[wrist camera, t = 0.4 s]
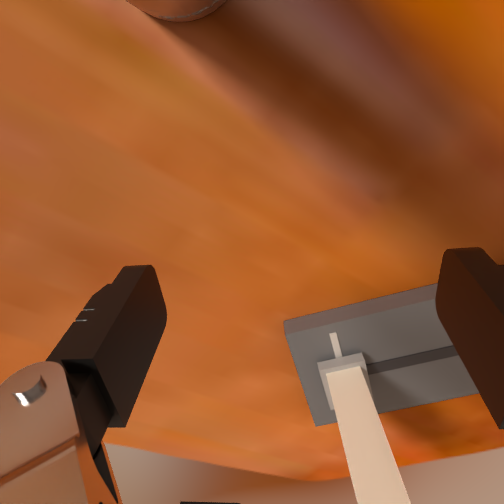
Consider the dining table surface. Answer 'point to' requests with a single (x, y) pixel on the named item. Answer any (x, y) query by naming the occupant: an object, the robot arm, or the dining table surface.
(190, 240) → the dining table surface
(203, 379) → the dining table surface
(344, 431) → the beige tall block
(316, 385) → the fader board
